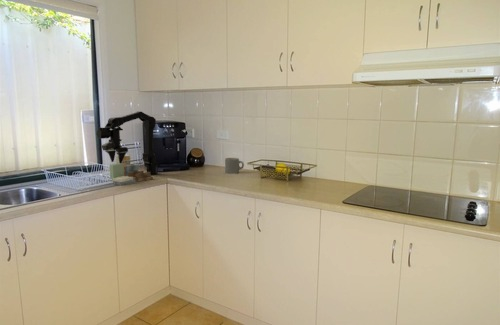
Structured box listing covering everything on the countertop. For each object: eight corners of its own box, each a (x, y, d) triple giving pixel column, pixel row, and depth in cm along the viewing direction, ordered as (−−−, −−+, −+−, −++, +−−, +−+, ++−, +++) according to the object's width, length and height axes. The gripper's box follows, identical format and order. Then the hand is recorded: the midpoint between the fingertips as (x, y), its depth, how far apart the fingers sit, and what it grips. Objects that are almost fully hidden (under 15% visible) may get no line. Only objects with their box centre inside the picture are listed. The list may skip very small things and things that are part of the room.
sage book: (120, 178, 222) (119, 163, 221) (124, 179, 220) (123, 163, 218) (110, 180, 217) (109, 164, 215) (113, 181, 214) (113, 165, 213)
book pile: (127, 180, 215) (127, 175, 214) (135, 182, 209) (135, 177, 209) (111, 183, 206) (111, 178, 206) (119, 185, 201) (119, 179, 200)
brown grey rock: (134, 175, 233) (134, 163, 232) (152, 179, 220) (152, 166, 219) (120, 177, 224) (119, 165, 223) (138, 181, 212) (137, 168, 211)
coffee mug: (223, 173, 243) (223, 159, 241) (227, 170, 253) (226, 157, 251) (242, 173, 241) (242, 159, 239) (244, 171, 250) (244, 158, 249)
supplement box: (120, 175, 234) (119, 156, 232) (116, 174, 237) (115, 155, 235) (131, 173, 240) (130, 155, 238) (127, 172, 243) (126, 154, 241)
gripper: (95, 137, 214) (96, 162, 216) (111, 139, 202) (112, 165, 205) (111, 136, 223) (113, 160, 225) (127, 138, 211) (129, 163, 213)
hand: (116, 162), depth 217 cm, fingers open, 9 cm apart
